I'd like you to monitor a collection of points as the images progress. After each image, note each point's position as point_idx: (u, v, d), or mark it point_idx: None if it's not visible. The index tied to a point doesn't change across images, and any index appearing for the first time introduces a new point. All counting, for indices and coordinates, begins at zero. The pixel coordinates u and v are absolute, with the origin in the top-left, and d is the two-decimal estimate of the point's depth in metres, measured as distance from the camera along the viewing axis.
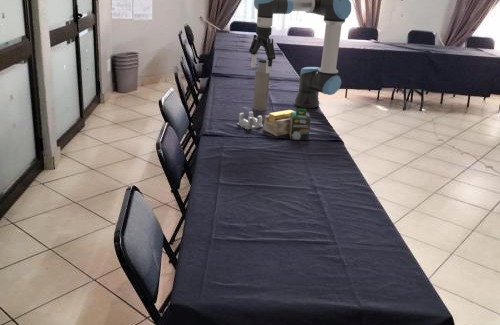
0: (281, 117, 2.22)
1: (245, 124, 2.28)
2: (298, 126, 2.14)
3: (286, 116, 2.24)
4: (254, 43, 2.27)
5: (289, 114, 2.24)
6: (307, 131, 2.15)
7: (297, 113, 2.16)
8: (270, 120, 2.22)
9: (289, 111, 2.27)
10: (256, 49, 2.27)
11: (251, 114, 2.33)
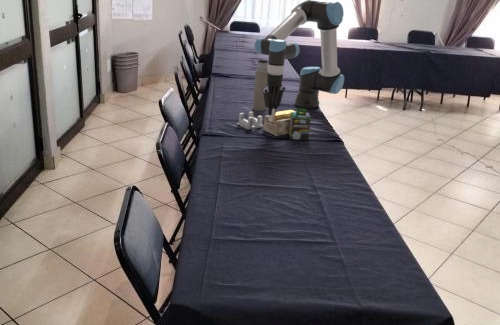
0: (282, 116, 2.22)
1: (245, 124, 2.28)
2: (298, 126, 2.14)
3: (287, 116, 2.24)
4: (278, 94, 2.19)
5: (289, 114, 2.24)
6: (307, 131, 2.15)
7: (297, 113, 2.16)
8: None
9: (290, 111, 2.27)
10: (273, 100, 2.18)
11: (251, 114, 2.33)
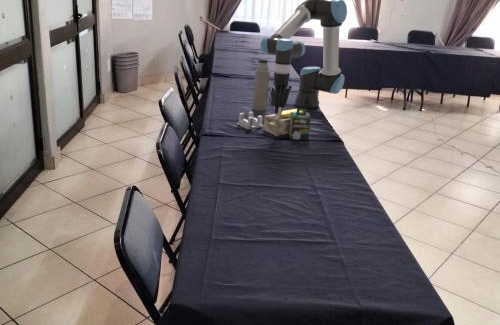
0: (288, 115, 2.24)
1: (245, 124, 2.28)
2: (298, 126, 2.14)
3: None
4: (285, 93, 2.21)
5: None
6: (307, 131, 2.15)
7: (297, 113, 2.16)
8: None
9: (296, 110, 2.30)
10: (280, 98, 2.20)
11: (251, 114, 2.33)
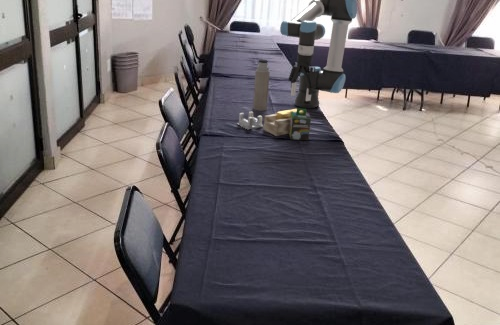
0: (288, 115, 2.24)
1: (245, 124, 2.28)
2: (298, 126, 2.14)
3: None
4: (294, 71, 2.27)
5: None
6: (307, 131, 2.15)
7: (297, 113, 2.16)
8: (278, 119, 2.25)
9: (296, 110, 2.30)
10: (296, 77, 2.27)
11: (251, 114, 2.33)
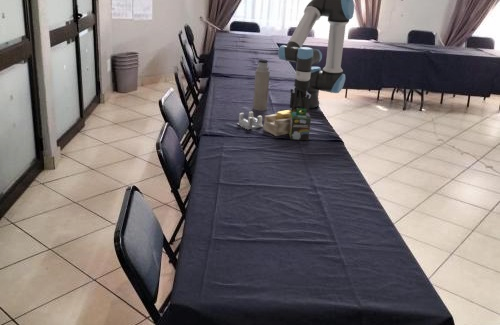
0: (288, 115, 2.24)
1: (245, 124, 2.28)
2: (298, 126, 2.14)
3: None
4: (293, 97, 2.32)
5: None
6: (307, 131, 2.15)
7: (297, 113, 2.16)
8: (278, 119, 2.25)
9: (296, 110, 2.30)
10: (296, 103, 2.31)
11: (251, 114, 2.33)
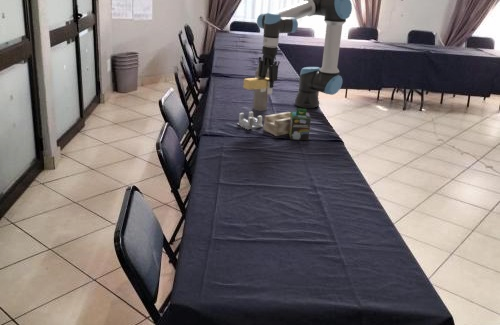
0: (256, 82, 2.20)
1: (245, 124, 2.28)
2: (298, 126, 2.14)
3: (261, 82, 2.22)
4: (261, 65, 2.27)
5: (264, 80, 2.22)
6: (307, 131, 2.15)
7: (297, 113, 2.16)
8: (245, 85, 2.20)
9: (264, 78, 2.25)
10: (265, 71, 2.27)
11: (251, 114, 2.33)
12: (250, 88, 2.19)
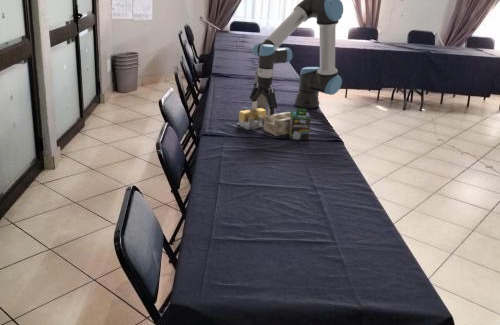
0: (251, 114, 2.27)
1: (245, 124, 2.28)
2: (298, 126, 2.14)
3: (256, 114, 2.29)
4: (255, 91, 2.34)
5: (259, 112, 2.29)
6: (307, 131, 2.15)
7: (297, 113, 2.16)
8: (240, 118, 2.27)
9: (259, 109, 2.32)
10: (257, 96, 2.34)
11: None
12: (245, 120, 2.26)
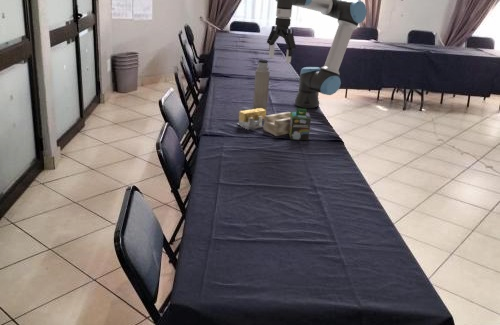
0: (251, 114, 2.27)
1: (245, 124, 2.28)
2: (298, 126, 2.14)
3: (256, 114, 2.29)
4: (272, 34, 2.34)
5: (259, 112, 2.29)
6: (307, 131, 2.15)
7: (297, 113, 2.16)
8: (240, 118, 2.27)
9: (259, 109, 2.32)
10: (274, 40, 2.34)
11: None
12: (245, 120, 2.26)
